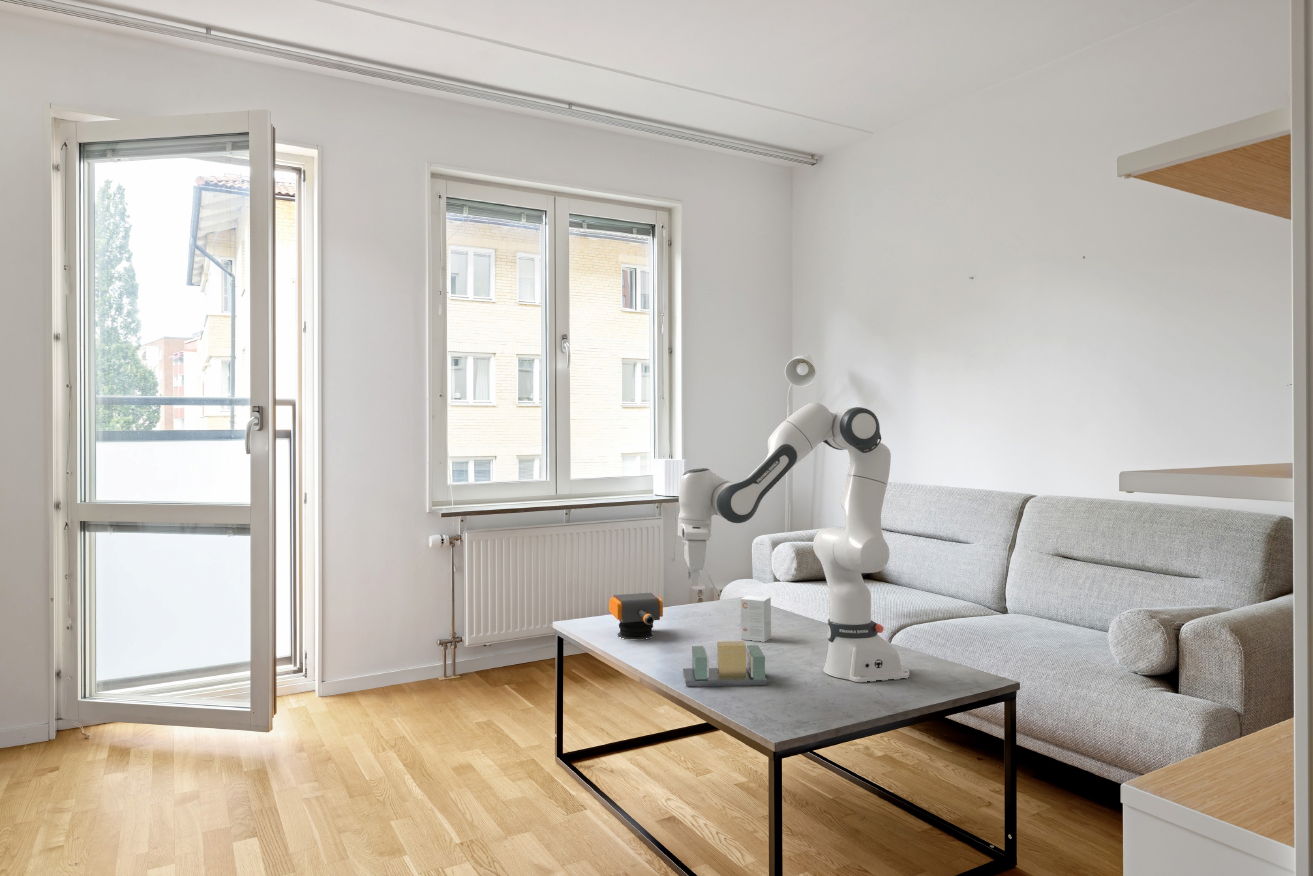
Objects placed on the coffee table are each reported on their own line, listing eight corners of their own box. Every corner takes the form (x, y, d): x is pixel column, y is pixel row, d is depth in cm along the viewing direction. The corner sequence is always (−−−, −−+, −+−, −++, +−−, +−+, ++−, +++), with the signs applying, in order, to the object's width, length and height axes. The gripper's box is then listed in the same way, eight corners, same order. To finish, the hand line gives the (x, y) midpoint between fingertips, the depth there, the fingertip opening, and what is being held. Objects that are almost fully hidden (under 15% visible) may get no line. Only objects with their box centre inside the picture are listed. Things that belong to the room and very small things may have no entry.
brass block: (717, 671, 223) (717, 641, 223) (743, 671, 223) (743, 641, 223) (719, 676, 218) (719, 646, 218) (745, 676, 218) (745, 645, 218)
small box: (771, 638, 263) (771, 597, 263) (764, 642, 258) (764, 600, 258) (747, 635, 267) (747, 594, 267) (740, 639, 261) (740, 598, 261)
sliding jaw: (705, 667, 226) (704, 646, 226) (709, 679, 215) (708, 657, 215) (692, 667, 226) (692, 646, 226) (695, 679, 215) (695, 657, 215)
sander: (626, 651, 249) (626, 609, 249) (608, 631, 273) (608, 593, 273) (673, 647, 253) (673, 605, 253) (651, 628, 277) (651, 590, 277)
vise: (760, 672, 226) (759, 645, 226) (766, 685, 215) (766, 656, 215) (683, 674, 226) (682, 646, 225) (685, 686, 215) (685, 657, 214)
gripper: (680, 525, 230) (678, 575, 230) (685, 533, 210) (683, 588, 210) (702, 525, 230) (701, 575, 230) (710, 534, 210) (708, 589, 210)
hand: (692, 582), depth 220 cm, fingers open, 8 cm apart
